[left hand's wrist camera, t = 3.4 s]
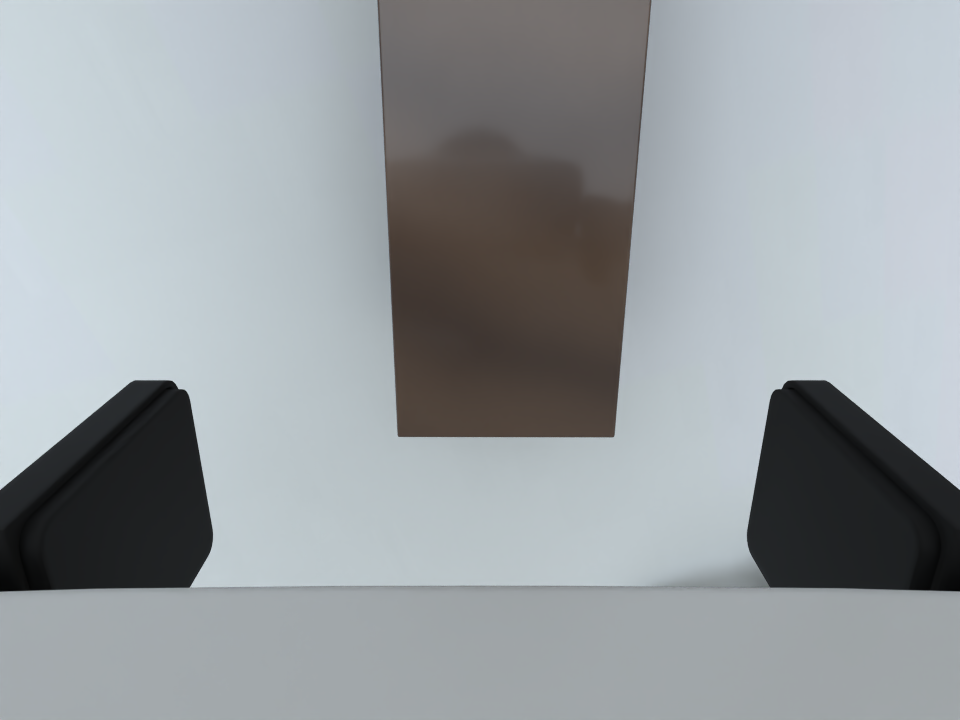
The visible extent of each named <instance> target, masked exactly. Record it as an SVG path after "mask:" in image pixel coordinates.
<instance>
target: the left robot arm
mask: <svg viewBox="0 0 960 720" xmlns="http://www.w3.org/2000/svg"><path fill="white" fill-rule="evenodd" d="M212 542H213V529H212V524H211V518H210V512H209V506H208V501H207V495H206V489H205V483H204V478H203V472H202V466H201V460H200V455H199V449H198V443H197V438H196V432H195V426H194V420H193V415H192V409H191V403H190V399H189V395H188V393H187V392H186V391H185V390H182V389H178V388H177V386H176V384H175V383H174V382H173V381H168V380H135V381H133V382H131V383H129V384H128V385H127V386H126V387H125V388H123V389H122V390H121V391H120V392H119V393H117V394H116V395H115V396H114V397H112V398H111V399H110V400H109V401H108V402H106V403H105V404H104V405H103V406H102V407H100V408H99V409H98V410H97V411H95V412H94V413H93V414H92V415H91V416H89V417H88V418H87V419H86V420H85V421H83V422H82V423H81V424H80V425H79V426H77V427H76V428H75V429H74V430H72V431H71V432H70V433H69V434H68V435H66V436H65V437H64V438H63V439H62V440H60V441H59V442H58V443H57V444H56V445H54V446H53V447H52V448H51V449H49V450H48V451H47V452H46V453H45V454H43V455H42V456H41V457H40V458H39V459H37V460H36V461H35V462H34V463H32V464H31V465H30V466H29V467H28V468H26V469H25V470H24V471H23V472H22V473H20V474H19V475H18V476H17V477H16V478H14V479H13V480H12V481H11V482H9V483H8V484H7V485H6V486H5V487H3V488H2V489H1V490H0V720H960V490H959V489H958V488H957V487H955V486H954V485H953V484H952V483H951V482H949V481H948V480H947V479H946V478H944V477H943V476H942V475H941V474H940V473H938V472H937V471H936V470H935V469H934V468H932V467H931V466H930V465H929V464H928V463H926V462H925V461H924V460H923V459H921V458H920V457H919V456H918V455H917V454H915V453H914V452H913V451H912V450H911V449H909V448H908V447H907V446H906V445H904V444H903V443H902V442H901V441H900V440H898V439H897V438H896V437H895V436H894V435H892V434H891V433H890V432H889V431H888V430H886V429H885V428H884V427H883V426H881V425H880V424H879V423H878V422H877V421H875V420H874V419H873V418H872V417H871V416H869V415H868V414H867V413H866V412H865V411H863V410H862V409H861V408H860V407H858V406H857V405H856V404H855V403H854V402H852V401H851V400H850V399H849V398H848V397H846V396H845V395H844V394H843V393H841V392H840V391H839V390H838V389H837V388H835V387H834V386H833V385H832V384H831V383H829V382H827V381H825V380H792V381H787V382H786V383H785V384H784V386H783V388H782V389H778V390H775V391H774V392H773V393H772V395H771V399H770V403H769V409H768V415H767V420H766V426H765V432H764V438H763V443H762V449H761V455H760V460H759V466H758V472H757V478H756V483H755V489H754V495H753V501H752V506H751V512H750V518H749V524H748V529H747V542H748V547H749V551H750V553H751V555H752V557H753V559H754V561H755V562H756V564H757V566H758V567H759V569H760V571H761V572H762V574H763V576H764V577H765V579H766V581H767V583H768V584H769V586H770V588H748V587H632V586H306V587H213V588H190V586H191V584H192V583H193V581H194V579H195V577H196V576H197V574H198V572H199V571H200V569H201V567H202V566H203V564H204V562H205V561H206V559H207V557H208V555H209V553H210V551H211V547H212Z"/></svg>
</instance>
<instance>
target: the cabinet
mask: <svg viewBox="0 0 960 720" xmlns="http://www.w3.org/2000/svg"><path fill="white" fill-rule="evenodd" d="M650 10H651V0H378V21H379V43H380V65H381V86H382V108H383V129H384V151H385V172H386V194H387V216H388V237H389V259H390V280H391V302H392V323H393V345H394V367H395V388H396V410H397V431H398V437H614V435H615V423H616V411H617V399H618V388H619V376H620V364H621V352H622V340H623V329H624V317H625V305H626V293H627V282H628V270H629V258H630V246H631V234H632V223H633V211H634V199H635V187H636V175H637V164H638V152H639V140H640V128H641V116H642V105H643V93H644V81H645V69H646V58H647V46H648V34H649V22H650Z"/></svg>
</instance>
